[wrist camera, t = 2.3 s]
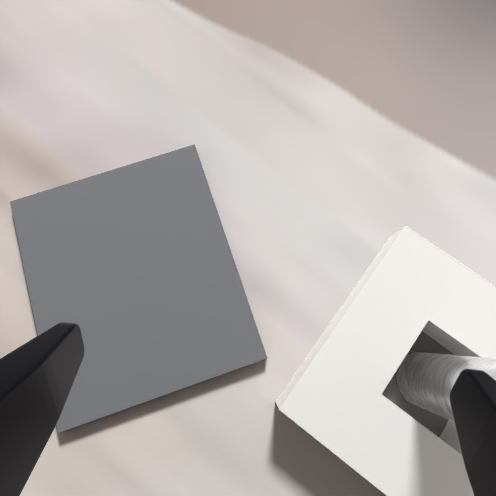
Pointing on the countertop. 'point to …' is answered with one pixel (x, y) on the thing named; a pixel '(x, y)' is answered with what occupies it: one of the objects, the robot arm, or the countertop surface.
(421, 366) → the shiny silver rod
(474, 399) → the robot arm
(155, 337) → the key mat
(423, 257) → the key housing
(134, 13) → the countertop surface
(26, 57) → the countertop surface
